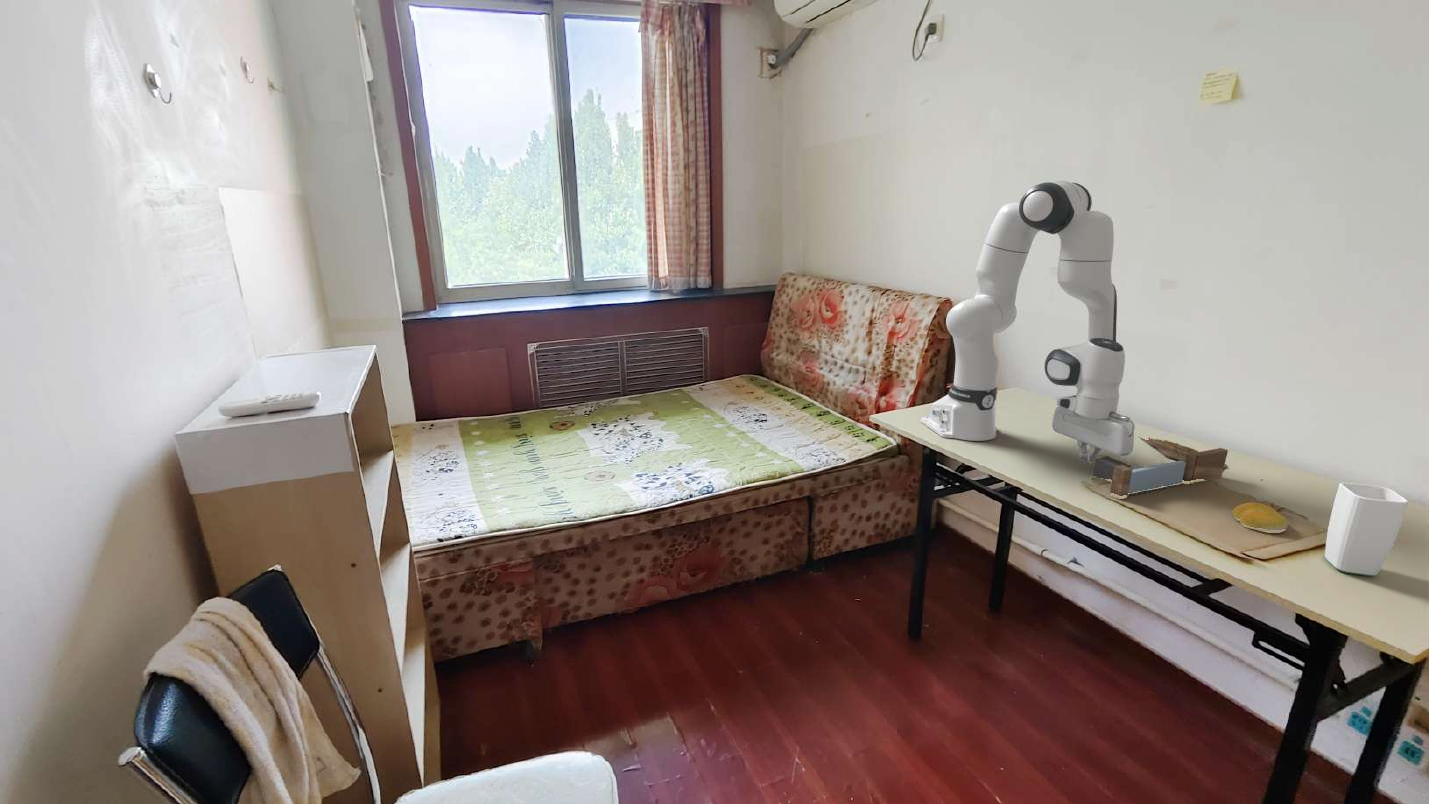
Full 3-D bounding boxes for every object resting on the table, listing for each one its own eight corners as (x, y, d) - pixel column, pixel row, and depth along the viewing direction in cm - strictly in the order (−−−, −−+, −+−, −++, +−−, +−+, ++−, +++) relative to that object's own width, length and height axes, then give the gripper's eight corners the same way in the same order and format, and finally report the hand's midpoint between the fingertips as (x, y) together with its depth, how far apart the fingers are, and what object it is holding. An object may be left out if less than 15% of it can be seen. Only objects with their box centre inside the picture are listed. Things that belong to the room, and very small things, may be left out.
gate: (1121, 493, 144) (1126, 470, 143) (1176, 482, 150) (1180, 460, 148) (1126, 495, 143) (1131, 472, 142) (1181, 484, 149) (1186, 462, 147)
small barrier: (1109, 495, 144) (1114, 466, 142) (1212, 474, 154) (1219, 447, 152) (1119, 499, 142) (1124, 470, 140) (1223, 478, 152) (1229, 450, 150)
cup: (1333, 574, 113) (1357, 497, 108) (1314, 554, 119) (1335, 481, 115) (1387, 582, 110) (1414, 504, 106) (1364, 561, 117) (1388, 486, 112)
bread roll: (1248, 533, 127) (1252, 515, 126) (1225, 513, 136) (1229, 496, 134) (1297, 538, 125) (1302, 519, 124) (1271, 517, 134) (1276, 500, 133)
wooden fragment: (1239, 472, 156) (1240, 468, 156) (1196, 474, 155) (1197, 470, 155) (1162, 437, 181) (1162, 433, 180) (1124, 438, 180) (1125, 435, 180)
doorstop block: (1092, 475, 155) (1095, 458, 154) (1104, 473, 156) (1107, 456, 155) (1114, 485, 150) (1117, 467, 148) (1127, 482, 151) (1130, 465, 149)
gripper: (1145, 417, 146) (1134, 473, 150) (1070, 394, 164) (1063, 445, 168) (1125, 421, 144) (1114, 477, 148) (1051, 397, 163) (1044, 448, 167)
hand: (1086, 460), depth 158 cm, fingers closed
